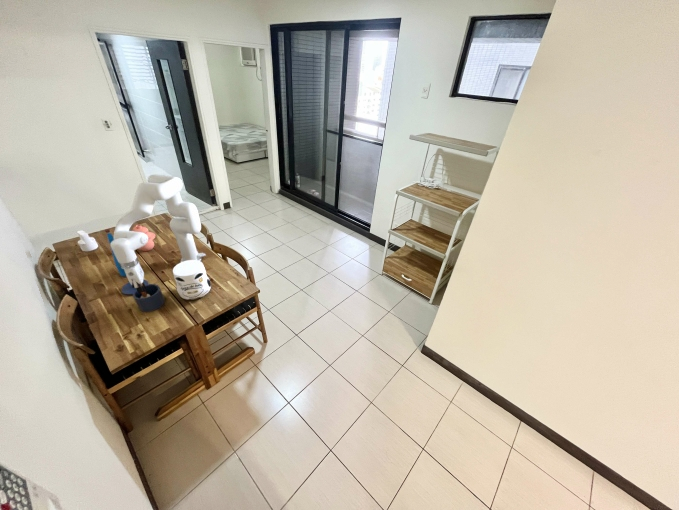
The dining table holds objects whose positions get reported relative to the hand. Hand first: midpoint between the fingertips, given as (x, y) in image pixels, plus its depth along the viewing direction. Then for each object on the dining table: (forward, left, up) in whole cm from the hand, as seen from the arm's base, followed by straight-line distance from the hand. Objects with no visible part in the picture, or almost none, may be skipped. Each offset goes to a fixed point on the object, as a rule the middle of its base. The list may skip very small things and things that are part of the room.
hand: (142, 290), depth 143 cm
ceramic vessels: (+8, -73, -11) cm, 74 cm away
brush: (0, 0, -9) cm, 9 cm away
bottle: (+13, -36, -11) cm, 40 cm away
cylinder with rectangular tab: (+39, -77, -11) cm, 87 cm away
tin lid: (+8, -18, -10) cm, 22 cm away
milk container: (-24, -1, -11) cm, 26 cm away
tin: (-2, 0, -10) cm, 11 cm away
